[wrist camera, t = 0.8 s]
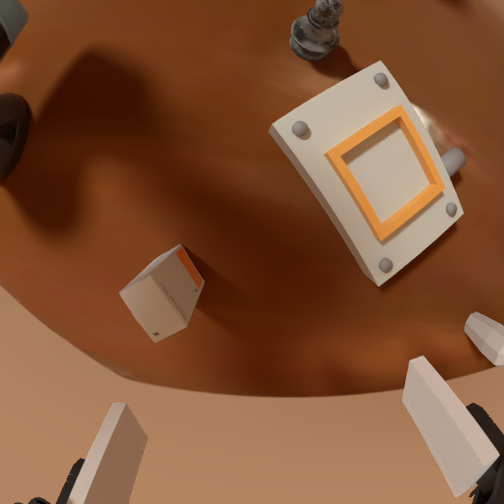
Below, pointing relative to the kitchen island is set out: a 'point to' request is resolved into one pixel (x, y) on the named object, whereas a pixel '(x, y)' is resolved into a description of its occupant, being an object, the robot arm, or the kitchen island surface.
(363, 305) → the kitchen island surface
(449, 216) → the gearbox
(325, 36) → the chess piece
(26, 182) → the kitchen island surface
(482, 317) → the low poly bottle
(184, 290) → the skincare box
